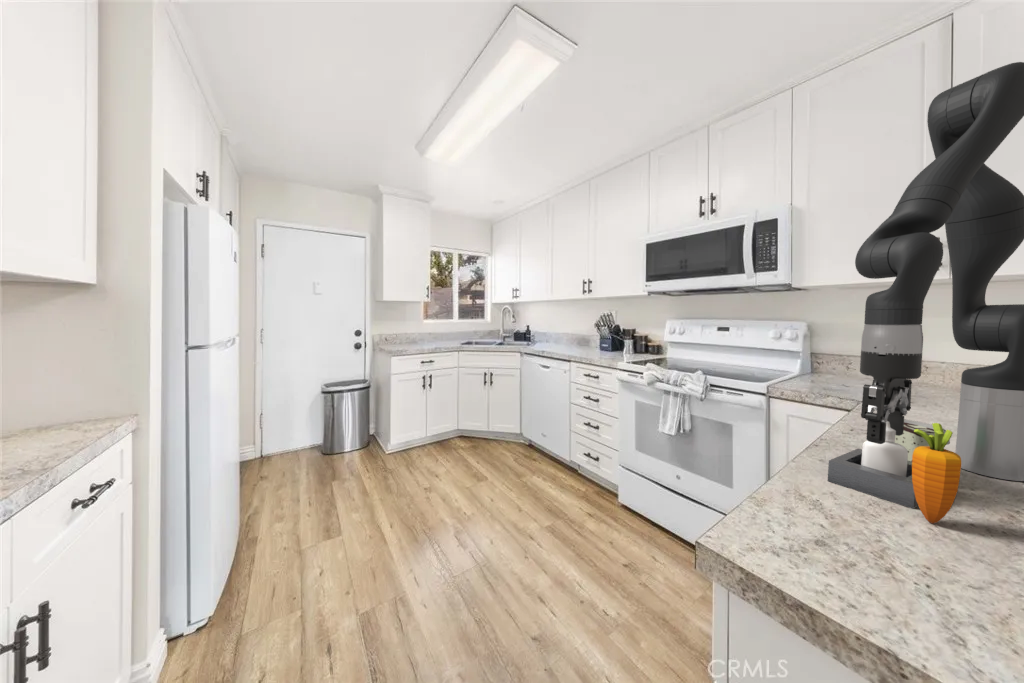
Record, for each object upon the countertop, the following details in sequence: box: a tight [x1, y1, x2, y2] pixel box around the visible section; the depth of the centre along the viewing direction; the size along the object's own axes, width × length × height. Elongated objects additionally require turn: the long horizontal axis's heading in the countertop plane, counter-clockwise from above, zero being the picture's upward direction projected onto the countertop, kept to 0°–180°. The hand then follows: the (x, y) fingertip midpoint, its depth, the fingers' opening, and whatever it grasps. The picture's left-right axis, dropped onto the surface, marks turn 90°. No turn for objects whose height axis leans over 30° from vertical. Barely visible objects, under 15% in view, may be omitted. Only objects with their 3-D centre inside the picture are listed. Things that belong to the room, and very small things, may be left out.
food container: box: [895, 418, 951, 461], centre depth 70 cm, size 12×6×10 cm, turn 179°
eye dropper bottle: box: [861, 421, 908, 477], centre depth 64 cm, size 4×6×12 cm
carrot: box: [912, 422, 962, 525], centre depth 53 cm, size 5×5×15 cm
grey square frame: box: [827, 448, 919, 510], centre depth 65 cm, size 13×11×4 cm
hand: (885, 438), depth 64 cm, fingers open, 8 cm apart
